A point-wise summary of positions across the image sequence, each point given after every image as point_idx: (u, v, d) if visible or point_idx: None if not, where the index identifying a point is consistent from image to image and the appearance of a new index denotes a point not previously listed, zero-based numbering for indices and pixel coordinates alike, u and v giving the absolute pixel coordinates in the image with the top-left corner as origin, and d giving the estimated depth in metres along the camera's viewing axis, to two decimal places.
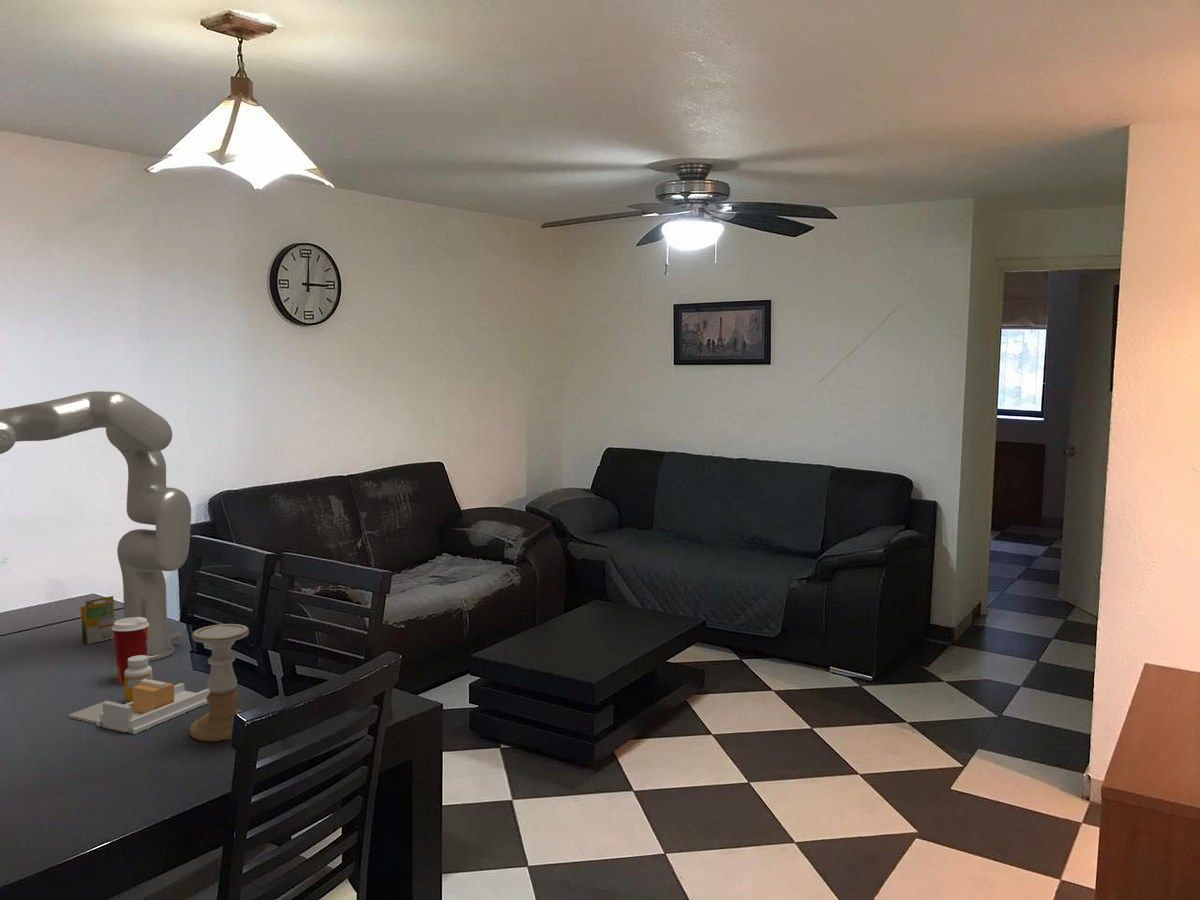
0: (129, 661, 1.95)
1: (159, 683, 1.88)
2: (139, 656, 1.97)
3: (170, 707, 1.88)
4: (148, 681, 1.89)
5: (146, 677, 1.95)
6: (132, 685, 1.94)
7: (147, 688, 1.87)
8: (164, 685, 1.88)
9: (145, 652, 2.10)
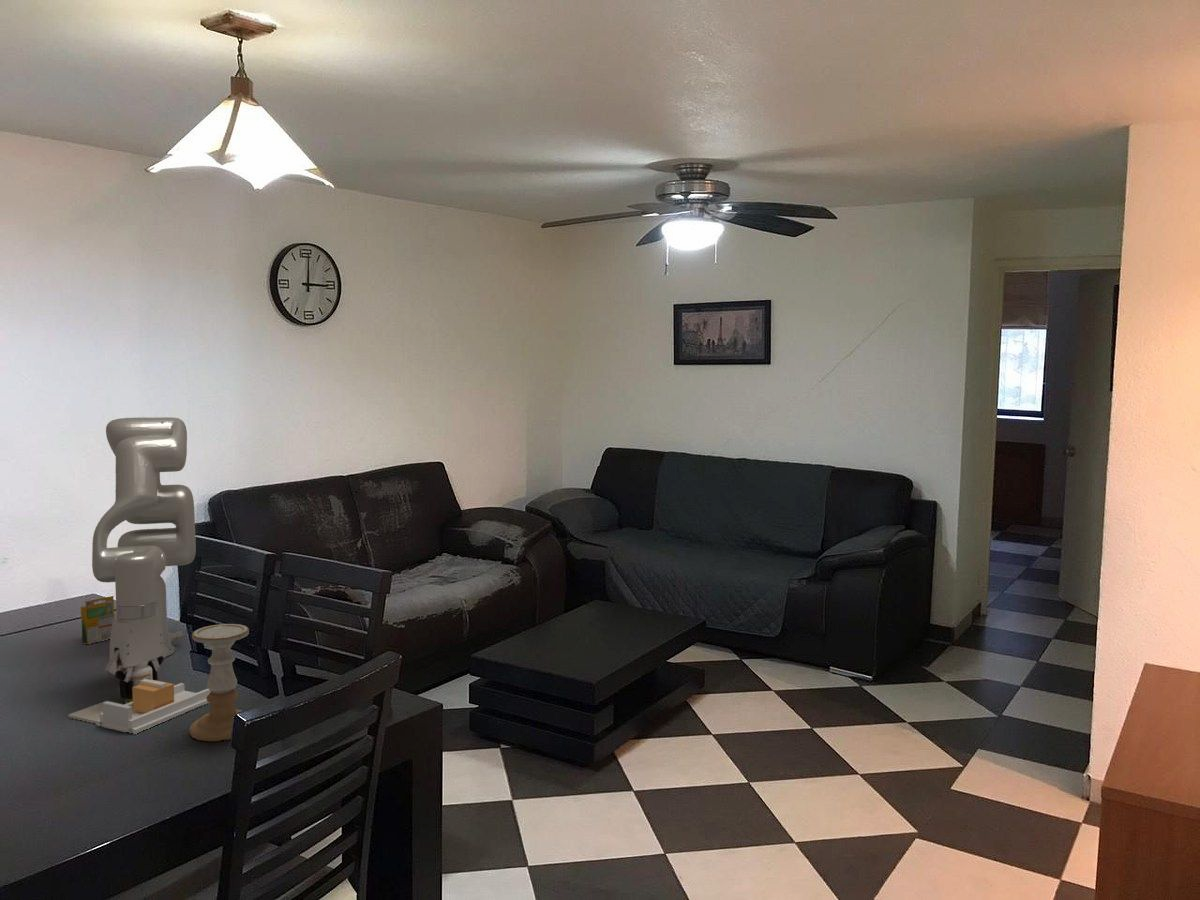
0: None
1: (159, 683, 1.88)
2: None
3: (170, 707, 1.88)
4: (148, 681, 1.89)
5: (146, 677, 1.95)
6: None
7: (147, 688, 1.87)
8: (164, 685, 1.88)
9: None
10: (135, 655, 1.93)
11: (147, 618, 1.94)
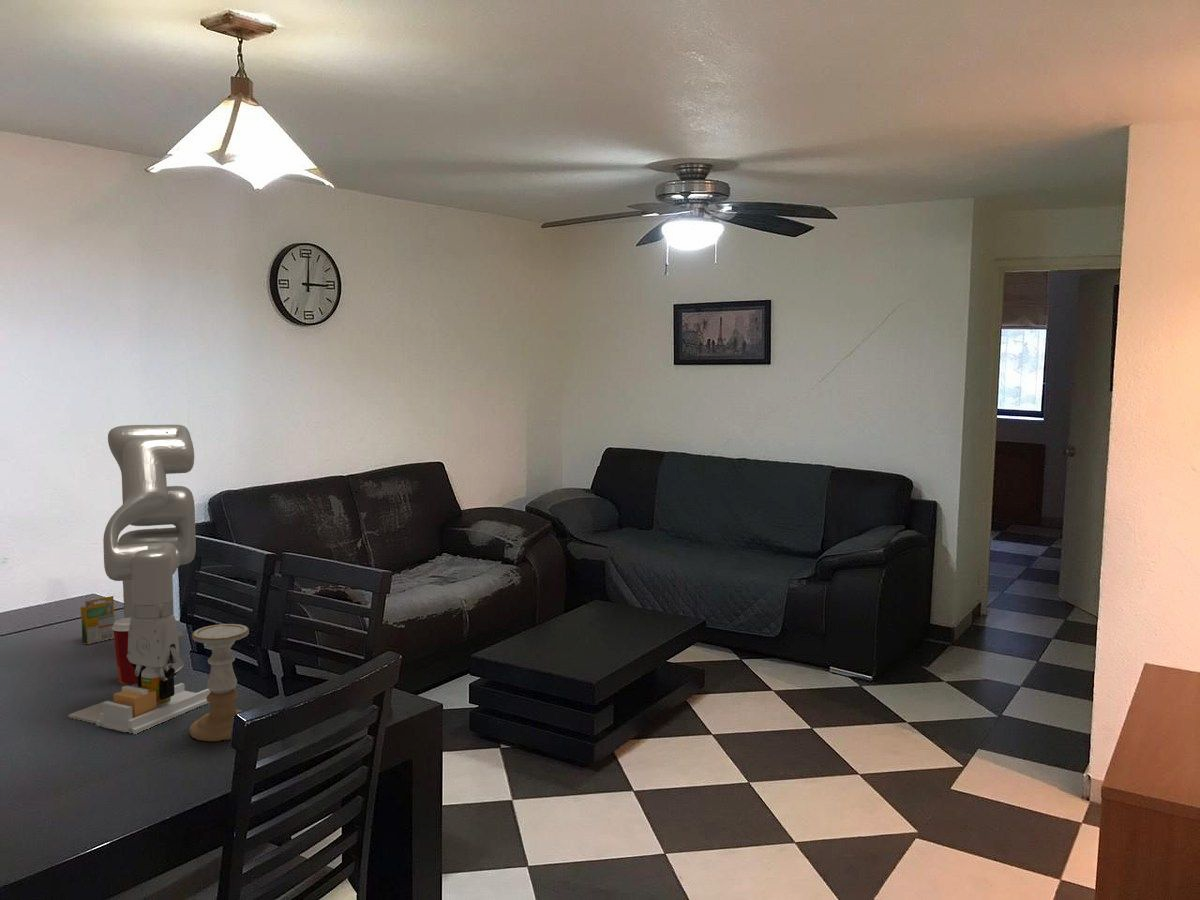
0: None
1: (141, 690, 1.84)
2: None
3: (170, 707, 1.88)
4: (130, 688, 1.85)
5: None
6: None
7: (129, 695, 1.83)
8: (146, 692, 1.84)
9: None
10: None
11: None
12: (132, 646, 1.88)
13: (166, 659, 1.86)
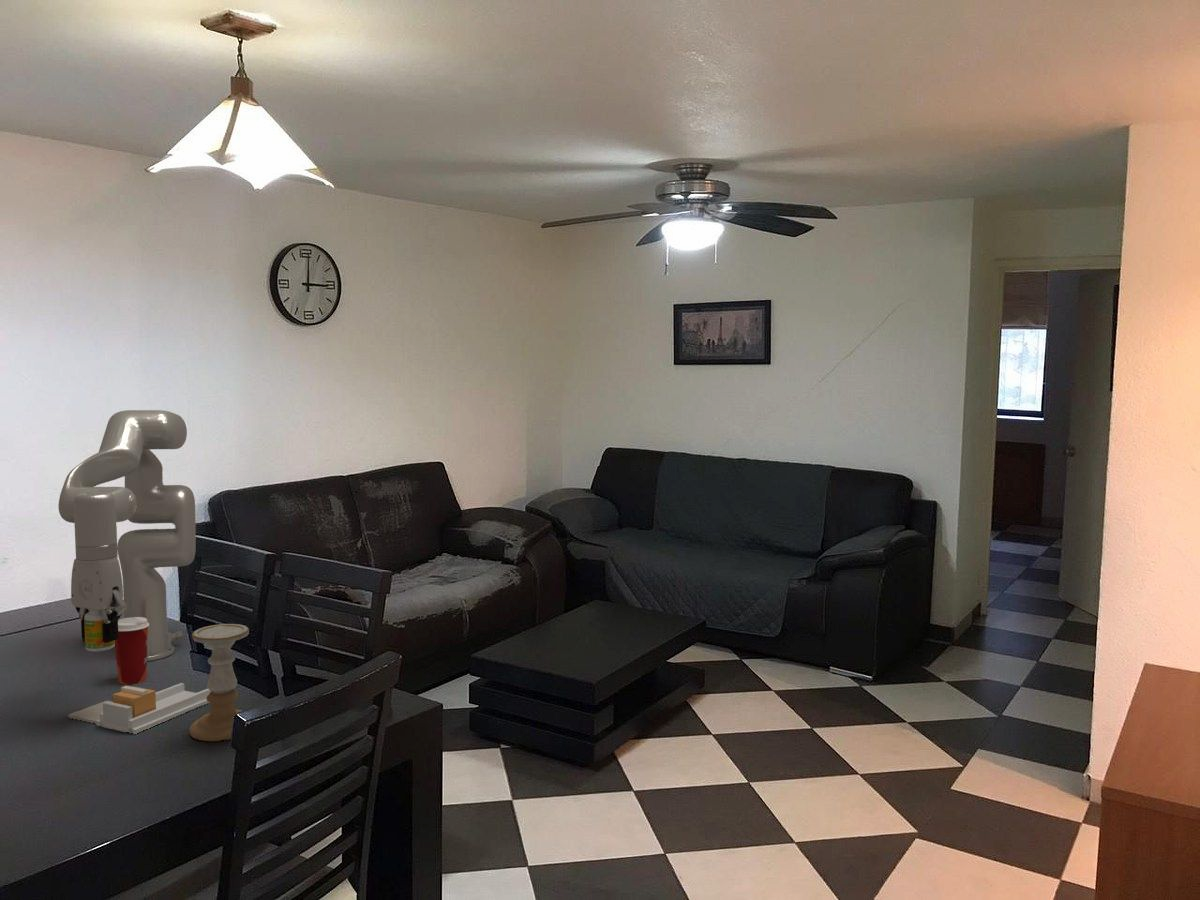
0: None
1: (140, 690, 1.84)
2: None
3: (170, 707, 1.88)
4: (129, 688, 1.85)
5: None
6: None
7: (128, 696, 1.83)
8: (145, 692, 1.84)
9: (145, 652, 2.10)
10: None
11: None
12: (75, 589, 1.87)
13: (109, 601, 1.85)
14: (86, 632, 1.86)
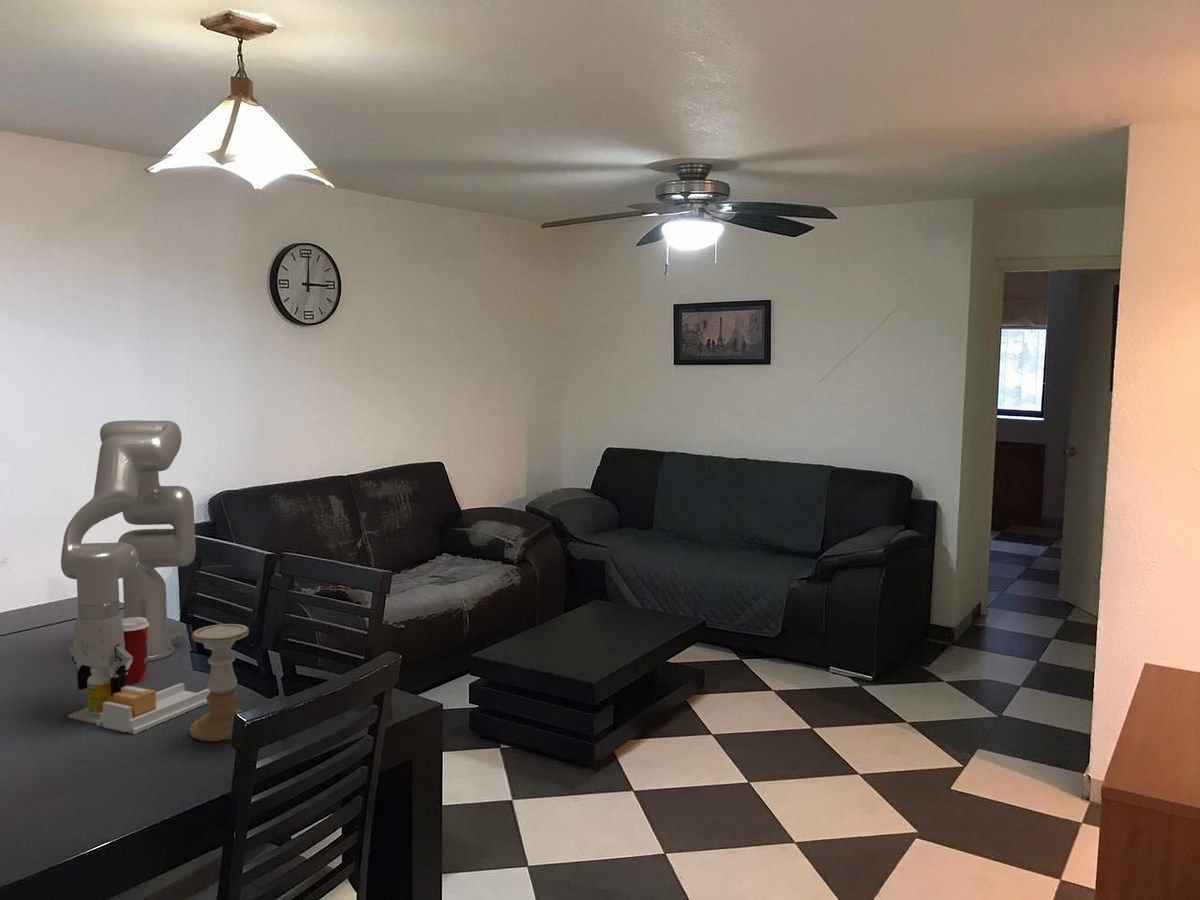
0: (107, 667, 1.88)
1: (140, 690, 1.84)
2: None
3: (170, 707, 1.88)
4: (129, 688, 1.85)
5: None
6: None
7: (128, 696, 1.83)
8: (145, 692, 1.84)
9: (145, 652, 2.10)
10: None
11: None
12: (77, 646, 1.88)
13: (111, 659, 1.86)
14: (89, 696, 1.88)
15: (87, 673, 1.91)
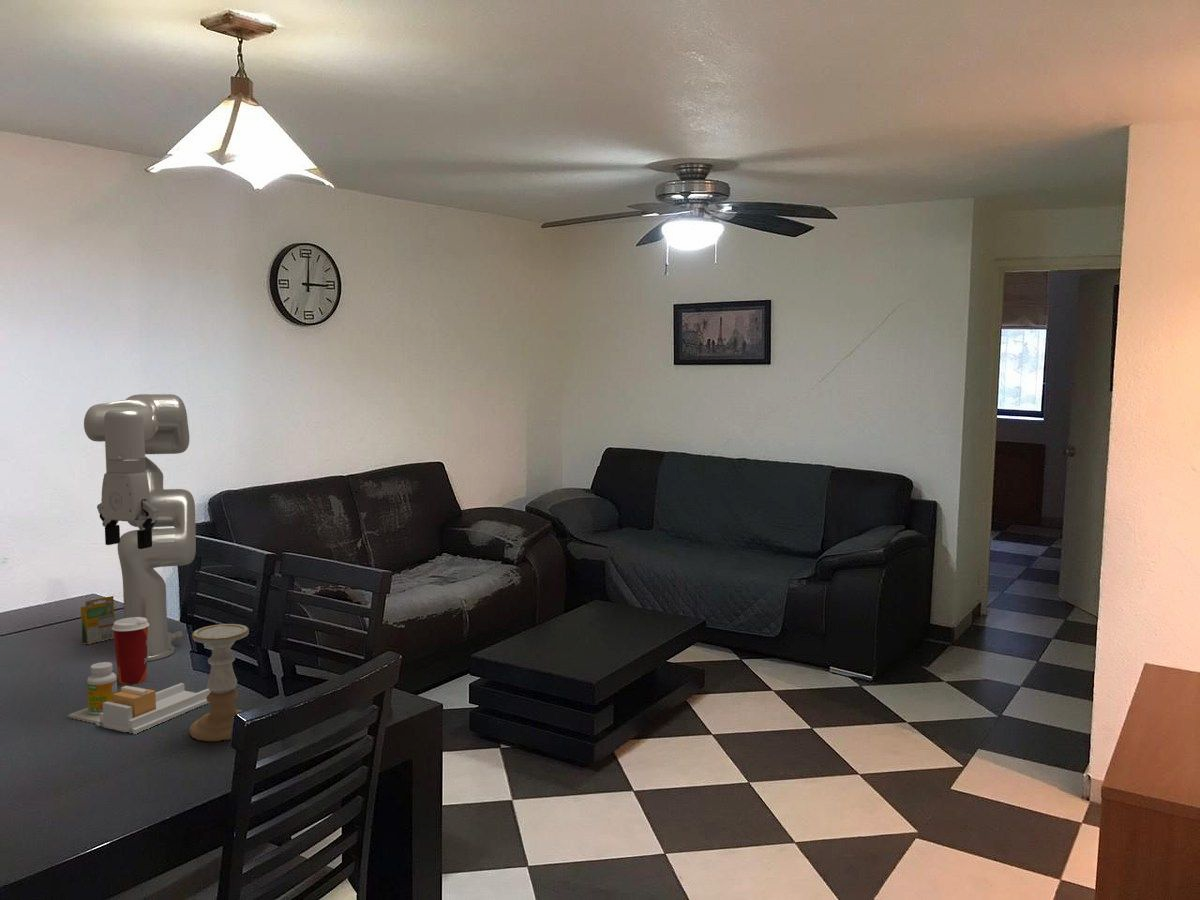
0: (107, 667, 1.88)
1: (140, 690, 1.84)
2: (96, 665, 1.89)
3: (170, 707, 1.88)
4: (129, 688, 1.85)
5: None
6: (115, 689, 1.90)
7: (128, 696, 1.83)
8: (145, 692, 1.84)
9: (145, 652, 2.10)
10: None
11: None
12: (105, 501, 1.95)
13: (138, 512, 1.93)
14: (89, 696, 1.88)
15: (114, 530, 1.99)
